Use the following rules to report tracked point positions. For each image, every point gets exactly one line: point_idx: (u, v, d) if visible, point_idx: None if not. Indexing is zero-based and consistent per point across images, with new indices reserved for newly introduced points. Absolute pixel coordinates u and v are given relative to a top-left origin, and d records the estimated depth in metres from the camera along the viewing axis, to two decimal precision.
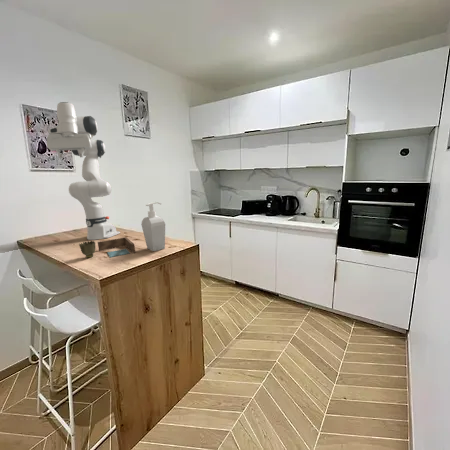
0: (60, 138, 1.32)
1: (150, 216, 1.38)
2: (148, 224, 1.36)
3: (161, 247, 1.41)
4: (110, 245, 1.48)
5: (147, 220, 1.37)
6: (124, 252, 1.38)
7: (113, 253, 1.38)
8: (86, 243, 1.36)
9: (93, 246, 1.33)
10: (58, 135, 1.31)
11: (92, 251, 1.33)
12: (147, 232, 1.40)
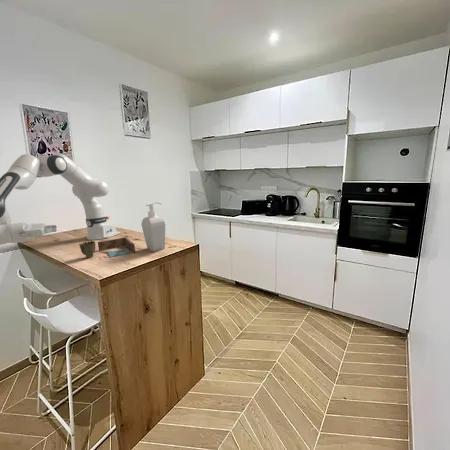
0: None
1: (150, 216, 1.38)
2: (148, 224, 1.36)
3: (161, 247, 1.41)
4: (110, 245, 1.48)
5: (147, 220, 1.37)
6: (124, 252, 1.38)
7: (113, 253, 1.38)
8: (86, 243, 1.36)
9: (93, 246, 1.33)
10: None
11: (92, 251, 1.33)
12: (147, 232, 1.40)
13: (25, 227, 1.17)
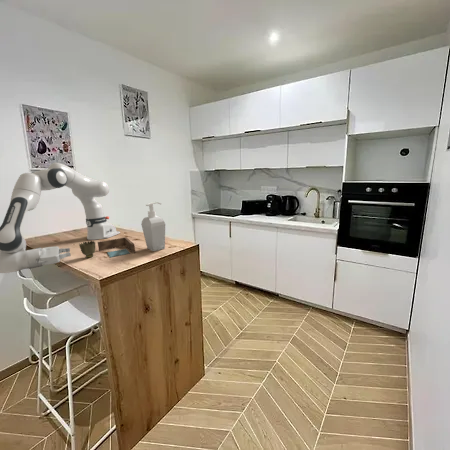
0: None
1: (150, 216, 1.38)
2: (148, 224, 1.36)
3: (161, 247, 1.41)
4: (110, 245, 1.48)
5: (147, 220, 1.37)
6: (124, 252, 1.38)
7: (113, 253, 1.38)
8: (86, 243, 1.36)
9: (93, 246, 1.33)
10: None
11: (92, 251, 1.33)
12: (147, 232, 1.40)
13: (41, 253, 1.22)
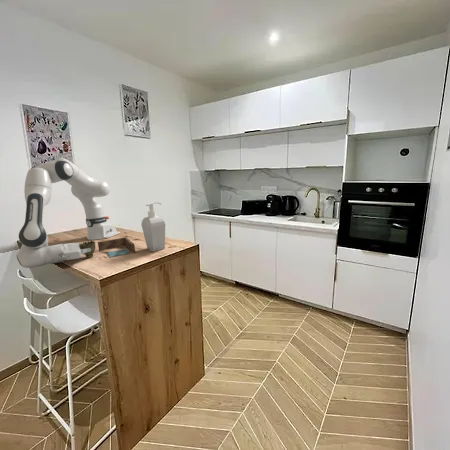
0: None
1: (150, 216, 1.38)
2: (148, 224, 1.36)
3: (161, 247, 1.41)
4: (110, 245, 1.48)
5: (147, 220, 1.37)
6: (124, 252, 1.38)
7: (113, 253, 1.38)
8: (86, 243, 1.36)
9: (93, 246, 1.33)
10: None
11: (92, 251, 1.33)
12: (147, 232, 1.40)
13: (63, 248, 1.26)
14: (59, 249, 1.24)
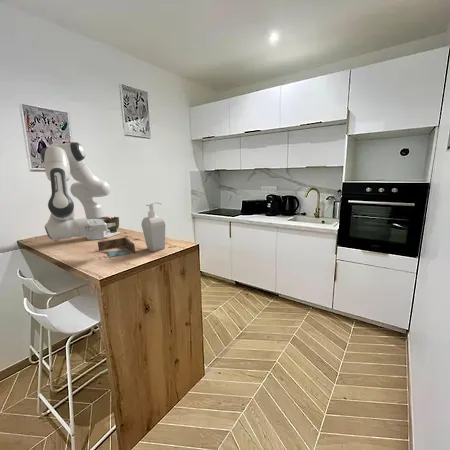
0: None
1: (150, 216, 1.38)
2: (148, 224, 1.36)
3: (161, 247, 1.41)
4: (110, 245, 1.48)
5: (147, 220, 1.37)
6: (124, 252, 1.38)
7: (113, 253, 1.38)
8: (110, 219, 1.38)
9: (117, 221, 1.34)
10: None
11: (116, 226, 1.34)
12: (147, 232, 1.40)
13: (89, 222, 1.27)
14: (85, 222, 1.25)
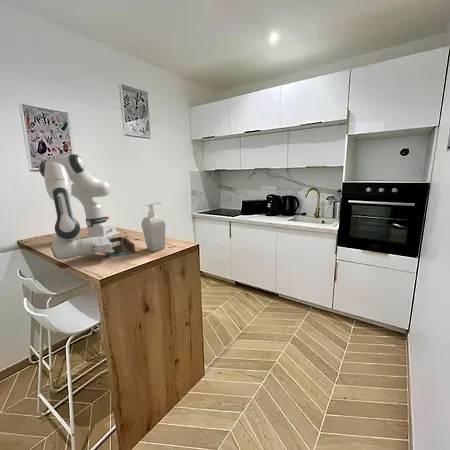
0: None
1: (150, 216, 1.38)
2: (148, 224, 1.36)
3: (161, 247, 1.41)
4: None
5: (147, 220, 1.37)
6: (124, 252, 1.38)
7: (113, 253, 1.38)
8: (114, 239, 1.40)
9: (122, 242, 1.37)
10: None
11: (121, 246, 1.37)
12: (147, 232, 1.40)
13: (94, 241, 1.30)
14: (91, 242, 1.28)
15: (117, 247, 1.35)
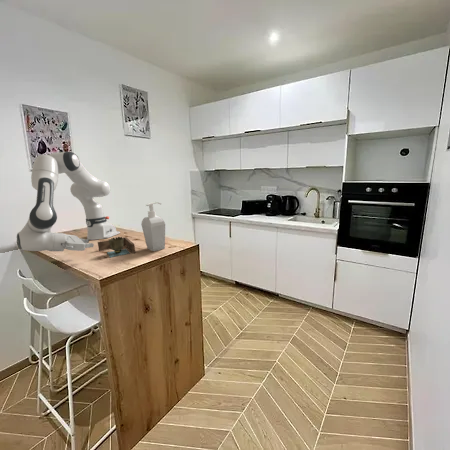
0: None
1: (150, 216, 1.38)
2: (148, 224, 1.36)
3: (161, 247, 1.41)
4: None
5: (147, 220, 1.37)
6: (124, 252, 1.38)
7: (113, 253, 1.38)
8: (114, 239, 1.40)
9: (122, 242, 1.37)
10: None
11: (121, 246, 1.37)
12: (147, 232, 1.40)
13: (66, 238, 1.24)
14: (63, 238, 1.21)
15: (117, 247, 1.35)
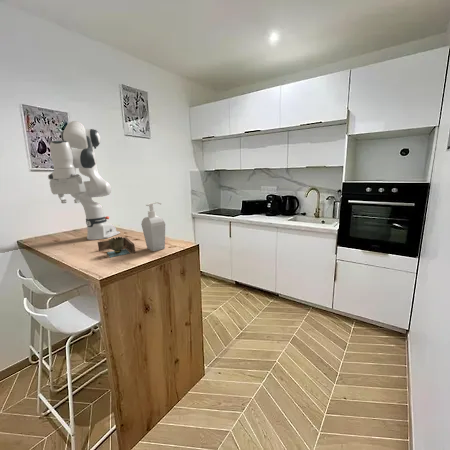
0: (58, 183, 1.25)
1: (150, 216, 1.38)
2: (148, 224, 1.36)
3: (161, 247, 1.41)
4: None
5: (147, 220, 1.37)
6: (124, 252, 1.38)
7: (113, 253, 1.38)
8: (114, 239, 1.40)
9: (122, 242, 1.37)
10: (55, 181, 1.24)
11: (121, 246, 1.37)
12: (147, 232, 1.40)
13: None
14: None
15: (117, 247, 1.35)
